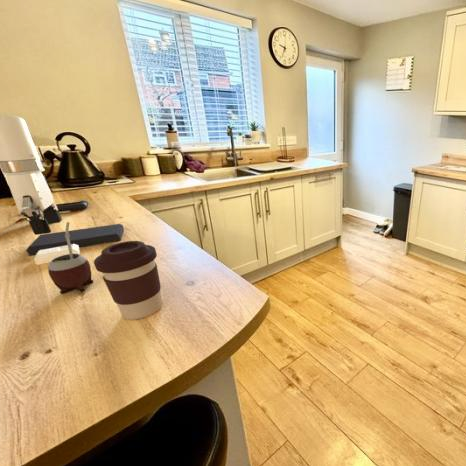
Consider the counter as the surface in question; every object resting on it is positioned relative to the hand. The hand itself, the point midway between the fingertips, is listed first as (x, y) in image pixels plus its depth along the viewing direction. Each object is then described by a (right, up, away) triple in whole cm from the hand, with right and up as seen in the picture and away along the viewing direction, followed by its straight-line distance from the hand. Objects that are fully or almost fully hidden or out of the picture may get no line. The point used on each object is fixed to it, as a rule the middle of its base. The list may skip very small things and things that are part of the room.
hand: (48, 227), depth 81 cm
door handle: (-42, +8, +45) cm, 62 cm away
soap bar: (-1, -9, +4) cm, 10 cm away
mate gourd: (+18, -15, -11) cm, 26 cm away
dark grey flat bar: (-4, -4, +14) cm, 15 cm away
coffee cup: (+40, -18, -19) cm, 48 cm away
